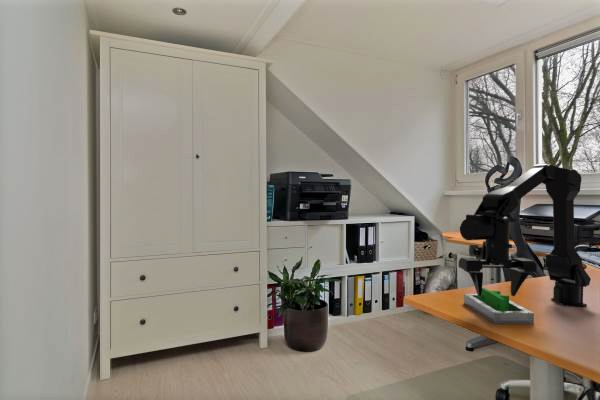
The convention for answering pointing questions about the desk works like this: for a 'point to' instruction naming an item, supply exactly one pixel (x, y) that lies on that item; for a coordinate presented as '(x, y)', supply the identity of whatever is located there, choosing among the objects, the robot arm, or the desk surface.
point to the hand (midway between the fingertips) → (496, 295)
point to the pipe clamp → (495, 300)
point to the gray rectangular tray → (500, 317)
